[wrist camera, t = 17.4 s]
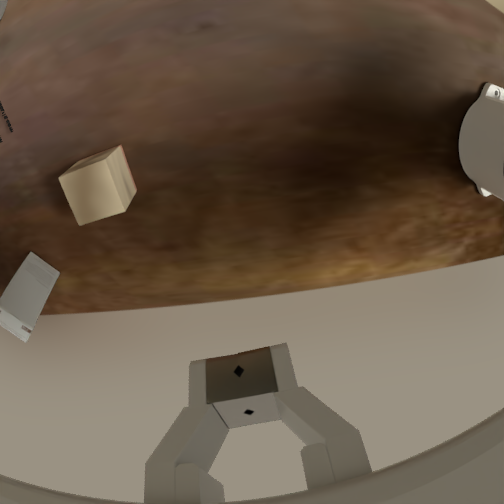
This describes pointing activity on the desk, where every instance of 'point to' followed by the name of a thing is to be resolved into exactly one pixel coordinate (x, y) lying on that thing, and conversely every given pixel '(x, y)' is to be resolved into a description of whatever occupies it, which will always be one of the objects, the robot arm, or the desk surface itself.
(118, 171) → the birch cube
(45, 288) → the skincare box
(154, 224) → the desk surface
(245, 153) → the desk surface
